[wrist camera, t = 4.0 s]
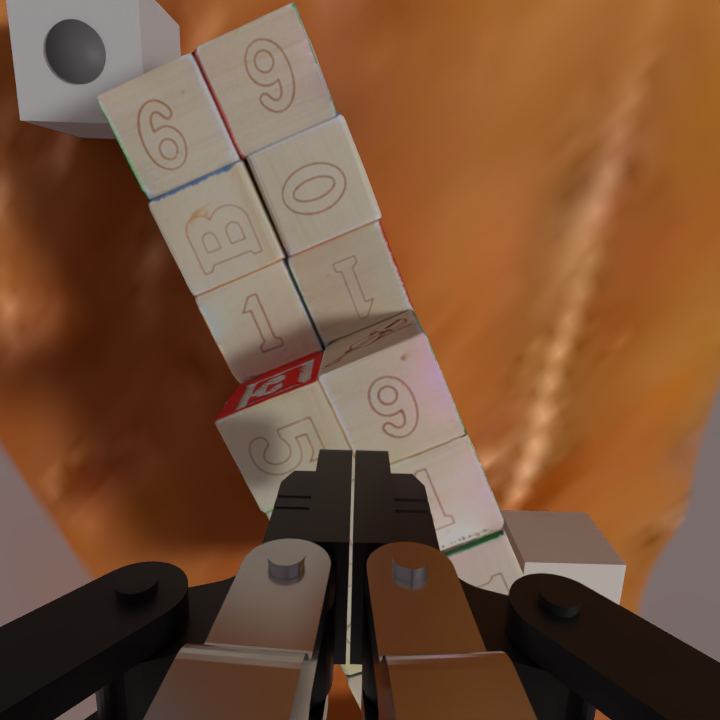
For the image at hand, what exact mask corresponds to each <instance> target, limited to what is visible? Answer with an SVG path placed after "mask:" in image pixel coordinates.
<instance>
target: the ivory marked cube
mask: <svg viewBox="0 0 720 720" xmlns="http://www.w3.org/2000/svg"><path fill="white" fill-rule="evenodd" d="M500 511H501V513H502V516H503V518H504V524H503V526H502V527H503V529H504V531H505V533H506V535H507V538H508V540H509V542H510V545H511V547H512V549H513V552H514V554H515V556H516V559H517V561H518V563H519V566H520V568H521V570H522V573H523V575H524V576H526V575H529V574H536V573H547V574H555V575H560V576H564V577H567V578H570V579H572V580H575V581H577V582H579V583H581V584H583V585H585V586H587V587H589V588H590V589H592V590H594V591H596V592H597V593H599V594H601V595H603V596H604V597H606V598H608V599H610V600H611V601H613V602H615V603H617V604H618V605H619V603H620V598H621V592H622V587H623V581H624V576H625V570H626V564H625V563H624V561H623V560H622V559H621V557H620V556H619V555H618V553H617V552H616V551H615V549H614V548H613V547H612V546H611V544H610V543H609V542H608V540H607V539H606V538H605V536H604V535H603V534H602V532H601V531H600V530H599V529H598V527H597V526H596V525H595V523H594V522H593V521H592V519H591V518H590V517H589V515H588V514H587V513H584V512H550V511H515V510H500Z"/></svg>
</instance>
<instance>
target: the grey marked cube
mask: <svg viewBox="0 0 720 720" xmlns="http://www.w3.org/2000/svg"><path fill="white" fill-rule="evenodd" d="M6 4H7V12H8V21H9V29H10V38H11V47H12V55H13V64H14V72H15V81H16V89H17V98H18V107H19V115H20V121H24V122H28V123H31V124H35V125H38V126H42V127H45V128H49V129H52V130H56V131H59V132H63V133H66V134H70V135H73V136H77V137H80V138H102V139H116V138H115V136H114V134H113V132H112V130H111V128H110V126H109V124H108V122H107V120H106V118H105V116H104V114H103V112H102V111H101V109H100V106H99V103H98V100H97V96H99V95H101V94H103V93H104V92H106V91H108V90H110V89H113V88H115V87H117V86H120V85H122V84H123V83H125V82H128V81H130V80H133V79H135V78H137V77H139V76H141V75H143V74H144V73H147V72H149V71H151V70H153V69H155V68H157V67H159V66H161V65H164V64H166V63H168V62H170V61H173V60H175V59H177V58H179V57H181V54H180V32H179V25H178V24H177V23H176V22H175V21H174V20H173V19H172V18H171V17H170V15H169V14H168V13H167V12H166V11H165V10H164V9H163V8H162V7H161V6H160V5H159V4H158V3H157V2H156V1H155V0H6Z"/></svg>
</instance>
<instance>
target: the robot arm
mask: <svg viewBox="0 0 720 720" xmlns="http://www.w3.org/2000/svg"><path fill="white" fill-rule="evenodd" d="M351 483H352V450H333V449H320V450H319V455H318V461H317V467H316V471H293V472H292V473H291V474H290V475H288V476H287V477H286V478H285V479H284V480H283V481H281V484H280V487H279V490H278V494H277V498H276V500H275V504H274V509H273V511H272V514H271V517H270V521H269V524H268V527H267V531H266V534H265V537H264V541H263V544H262V545H259V546H258V547H256V548H254V549H253V550H252V551H250V552H249V553H248V554H247V555H246V557H245V558H244V560H243V562H242V564H241V566H240V568H239V570H238V573H237V575H236V576H234V577H231V578H229V579H226V580H223V581H219V582H215V583H210V584H205V585H200V586H194V587H189V588H188V579H187V576H186V575H185V573H184V572H183V571H182V570H181V569H180V568H178V567H176V566H175V565H172V564H169V563H164V562H154V561H153V562H141V563H135V564H131V565H127V566H124V567H121V568H119V569H117V570H114V571H112V572H110V573H108V574H106V575H104V576H102V577H100V578H98V579H96V580H94V581H92V582H90V583H88V584H86V585H84V586H82V587H80V588H78V589H76V590H74V591H72V592H70V593H68V594H66V595H64V596H62V597H60V598H58V599H56V600H54V601H52V602H50V603H48V604H46V605H44V606H42V607H40V608H38V609H36V610H34V611H32V612H30V613H28V614H26V615H24V616H22V617H20V618H18V619H16V620H14V621H12V622H10V623H8V624H6V625H3V626H2V627H0V720H54V719H56V718H57V717H59V716H60V715H62V714H63V713H65V712H66V711H68V710H69V709H71V708H72V707H74V706H75V705H77V704H78V703H80V702H81V701H83V700H84V699H86V698H87V697H89V696H91V695H92V694H93V693H95V694H96V702H97V711H96V712H95V713H93V714H92V715H90V716H89V717H87V718H86V719H85V720H326V718H327V711H328V693H329V691H330V689H331V686H332V681H333V666H334V664H346V641H347V610H348V580H349V549H350V517H351ZM350 664H358V665H362V694H361V716H362V720H594V717H595V711H596V709H598V710H599V711H600V712H602V713H603V714H604V715H606V716H607V717H608V718H610V719H611V720H720V663H719V662H717V661H716V660H714V659H712V658H710V657H709V656H707V655H705V654H703V653H702V652H700V651H698V650H697V649H695V648H693V647H691V646H690V645H688V644H686V643H684V642H683V641H681V640H679V639H677V638H676V637H674V636H672V635H671V634H669V633H667V632H665V631H663V630H662V629H660V628H658V627H656V626H655V625H653V624H651V623H650V622H648V621H646V620H644V619H643V618H641V617H639V616H637V615H636V614H634V613H632V612H630V611H629V610H627V609H625V608H623V607H622V606H620V605H618V604H617V603H615V602H613V601H611V600H610V599H608V598H606V597H604V596H603V595H601V594H599V593H597V592H596V591H594V590H592V589H590V588H589V587H587V586H585V585H583V584H581V583H579V582H577V581H575V580H572V579H570V578H567V577H564V576H560V575H555V574H547V573H536V574H529V575H526V576H523V577H521V578H519V579H517V580H516V581H515V582H514V583H513V584H512V585H511V588H510V590H509V595H505V594H501V593H497V592H493V591H489V590H485V589H481V588H478V587H476V586H473V585H471V584H468V583H467V582H465V581H463V580H461V579H460V578H458V576H457V573H456V570H455V568H454V566H453V564H452V562H451V561H450V559H449V558H448V557H447V556H446V555H445V554H443V553H442V552H440V548H439V544H438V539H437V535H436V531H435V527H434V523H433V518H432V514H431V510H430V506H429V502H428V497H427V493H426V489H425V485H423V484H422V483H421V482H420V481H419V480H418V479H417V478H416V477H415V476H414V475H413V474H403V473H391V470H390V461H389V453H388V451H372V450H355V479H354V512H353V548H352V590H351V632H350Z"/></svg>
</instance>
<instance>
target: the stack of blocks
mask: <svg viewBox="0 0 720 720" xmlns="http://www.w3.org/2000/svg"><path fill="white" fill-rule="evenodd" d="M97 100H98V103H99V106H100V109H101V111H102V112H103V114H104V116H105V118H106V120H107V122H108V124H109V126H110V128H111V130H112V132H113V134H114V136H115V138H116V140H117V142H118V144H119V146H120V148H121V150H122V152H123V154H124V156H125V158H126V160H127V162H128V164H129V166H130V168H131V170H132V172H133V174H134V176H135V178H136V180H137V181H138V183H139V185H140V187H141V189H142V191H143V192H144V194H145V195H146V196H147V198H148V199H149V203H148V206H149V209H150V211H151V214H152V216H153V218H154V220H155V221H156V223H157V225H158V227H159V229H160V231H161V233H162V236H163V238H164V240H165V242H166V244H167V246H168V248H169V250H170V252H171V254H172V255H173V257H174V259H175V261H176V263H177V265H178V267H179V269H180V271H181V273H182V275H183V277H184V279H185V281H186V284H187V286H188V288H189V290H190V291H191V293H192V294H193V295H194V297H195V301H196V304H197V307H198V309H199V311H200V313H201V315H202V317H203V319H204V321H205V323H206V325H207V327H208V329H209V331H210V333H211V335H212V337H213V339H214V341H215V343H216V344H217V346H218V348H219V350H220V352H221V354H222V356H223V358H224V360H225V362H226V364H227V366H228V368H229V370H230V371H231V373H232V374H233V376H234V377H235V379H236V380H237V381H238V382H239V383H240V385H239V386H238V387H236V388H235V390H234V391H233V392H232V394H231V396H230V398H229V400H228V401H227V402H226V403H225V405H224V406H223V408H222V410H221V411H220V412H219V414H218V415H217V417H216V419H215V424H216V426H217V428H218V430H219V432H220V434H221V436H222V438H223V440H224V442H225V444H226V446H227V447H228V449H229V451H230V453H231V455H232V457H233V459H234V461H235V463H236V464H237V466H238V468H239V470H240V472H241V474H242V476H243V478H244V480H245V482H246V484H247V485H248V487H249V489H250V491H251V493H252V495H253V497H254V499H255V501H256V503H257V504H258V506H259V508H260V510H261V511H263V512H264V513H266V515H267V517H268V520H269V521H270V517H271V514H272V511H273V509H274V504H275V500H276V498H277V494H278V490H279V487H280V484H281V481H283V480H284V479H285V478H286V477H287V476H288V475H290V474H291V473H292V472H293V471H316V467H317V461H318V455H319V450H320V449H333V450H352V483H351V517H350V549H349V580H348V610H347V641H346V664H339V665H340V667H341V669H342V671H343V672H344V673H345V674H347V683H348V686H349V688H350V690H351V692H352V694H353V696H354V698H355V700H356V702H357V704H358V706H359V708H360V710H361V694H362V665H358V664H350V632H351V590H352V548H353V512H354V479H355V450H372V451H388V453H389V461H390V470H391V473H403V474H413V475H414V476H415V477H416V478H417V479H418V480H419V481H420V482H421V483H422V484H423V485H425V489H426V493H427V497H428V502H429V506H430V510H431V514H432V518H433V523H434V527H435V531H436V535H437V539H438V544H439V548H440V552H442V553H443V554H445V555H446V556H447V557H448V558H449V559H450V561H451V562H452V564H453V566H454V568H455V570H456V573H457V576H458V578H460V579H461V580H463V581H465V582H467V583H468V584H471V585H473V586H476V587H478V588H481V589H485V590H489V591H493V592H497V593H501V594H505V595H509V590H510V588H511V585H512V584H513V583H514V582H515V581H516V580H517V579H519V578H521V577H523V576H524V575H523V573H522V570H521V568H520V566H519V563H518V561H517V559H516V556H515V554H514V552H513V549H512V547H511V545H510V542H509V540H508V538H507V535H506V533H505V531H504V529H503V527H502V526H503V524H504V518H503V516H502V513H501V511H500V508H499V505H498V503H497V501H496V499H495V497H494V495H493V492H492V489H491V487H490V484H489V482H488V479H487V477H486V475H485V472H484V470H483V467H482V465H481V463H480V460H479V458H478V455H477V453H476V451H475V448H474V446H473V444H472V442H471V440H470V438H469V436H468V434H467V432H466V430H465V428H464V425H463V422H462V420H461V417H460V415H459V412H458V410H457V408H456V405H455V403H454V400H453V398H452V396H451V393H450V391H449V388H448V386H447V384H446V381H445V379H444V376H443V374H442V371H441V369H440V366H439V364H438V362H437V359H436V357H435V355H434V352H433V350H432V348H431V345H430V342H429V340H428V337H427V335H426V333H425V332H424V330H423V328H422V326H421V324H420V322H419V320H418V318H417V316H416V314H415V312H414V308H413V305H412V303H411V301H410V298H409V295H408V293H407V290H406V288H405V285H404V282H403V280H402V277H401V274H400V272H399V269H398V267H397V264H396V262H395V259H394V256H393V254H392V251H391V248H390V246H389V243H388V240H387V238H386V235H385V233H384V230H383V228H382V225H381V222H380V219H381V212H380V209H379V206H378V204H377V201H376V198H375V196H374V193H373V190H372V188H371V185H370V182H369V180H368V177H367V174H366V172H365V169H364V166H363V164H362V161H361V159H360V156H359V154H358V151H357V149H356V146H355V143H354V141H353V138H352V136H351V133H350V131H349V128H348V126H347V123H346V120H345V118H344V117H343V116H342V115H341V114H338V112H337V111H336V109H335V106H334V104H333V101H332V98H331V95H330V93H329V90H328V87H327V84H326V82H325V79H324V76H323V73H322V71H321V68H320V65H319V62H318V60H317V57H316V54H315V52H314V49H313V46H312V43H311V41H310V39H309V37H308V36H307V33H306V31H305V28H304V26H303V23H302V21H301V18H300V15H299V13H298V10H297V7H296V6H295V4H294V3H293V2H292V3H290V4H288V5H286V6H284V7H281V8H279V9H277V10H275V11H273V12H271V13H268V14H266V15H264V16H262V17H260V18H258V19H256V20H254V21H252V22H249V23H247V24H245V25H243V26H241V27H239V28H237V29H235V30H233V31H230V32H228V33H226V34H223V35H221V36H219V37H217V38H215V39H213V40H210V41H208V42H206V43H204V44H202V45H200V46H197V47H196V49H195V50H194V52H193V53H190V54H187V55H184V56H182V57H179V58H177V59H175V60H173V61H170V62H168V63H166V64H164V65H161V66H159V67H157V68H155V69H153V70H151V71H149V72H147V73H144V74H143V75H141V76H139V77H137V78H135V79H133V80H130V81H128V82H125V83H123V84H122V85H120V86H117V87H115V88H113V89H110V90H108V91H106V92H104V93H103V94H101V95H99V96H97Z"/></svg>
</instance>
